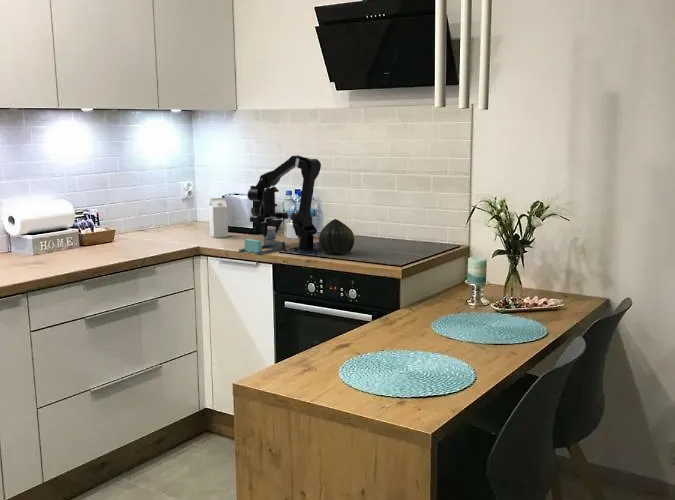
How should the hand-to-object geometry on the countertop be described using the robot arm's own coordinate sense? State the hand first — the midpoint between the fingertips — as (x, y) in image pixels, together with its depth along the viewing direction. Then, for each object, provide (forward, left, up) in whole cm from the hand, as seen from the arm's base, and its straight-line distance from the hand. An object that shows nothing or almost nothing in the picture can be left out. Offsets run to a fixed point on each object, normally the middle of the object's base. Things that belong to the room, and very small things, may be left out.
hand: (269, 236), depth 335 cm
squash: (-36, -10, -4) cm, 38 cm away
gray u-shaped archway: (-11, +10, -4) cm, 15 cm away
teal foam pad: (-12, +16, -4) cm, 20 cm away
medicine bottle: (+10, -22, -4) cm, 25 cm away
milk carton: (+38, +5, -4) cm, 38 cm away
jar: (0, 0, -1) cm, 1 cm away
